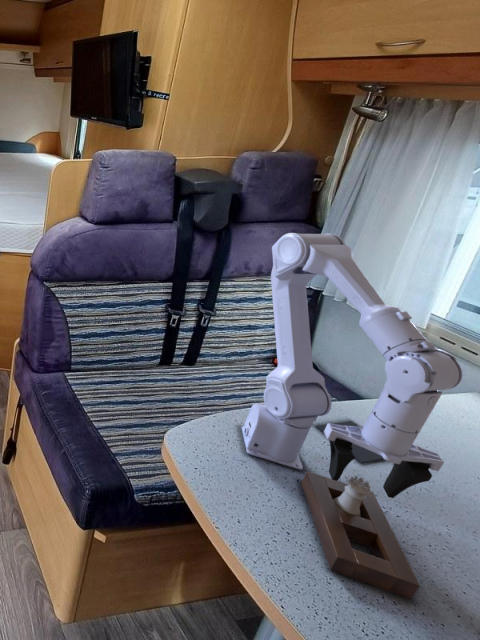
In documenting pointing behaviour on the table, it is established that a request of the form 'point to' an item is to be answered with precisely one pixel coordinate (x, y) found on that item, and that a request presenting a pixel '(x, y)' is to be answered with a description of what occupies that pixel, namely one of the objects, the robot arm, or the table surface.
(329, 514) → the frame
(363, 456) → the pad
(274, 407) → the robot arm
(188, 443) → the table surface
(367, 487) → the rook chess piece
